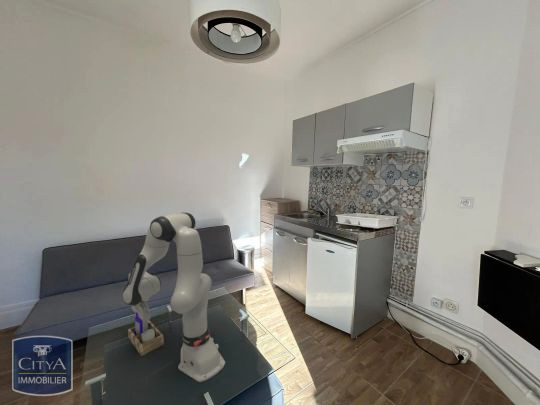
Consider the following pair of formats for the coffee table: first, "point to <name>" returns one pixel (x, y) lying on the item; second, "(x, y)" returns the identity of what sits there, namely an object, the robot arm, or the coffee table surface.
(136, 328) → the bottle
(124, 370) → the coffee table surface
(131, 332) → the rack
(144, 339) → the pale green egg
